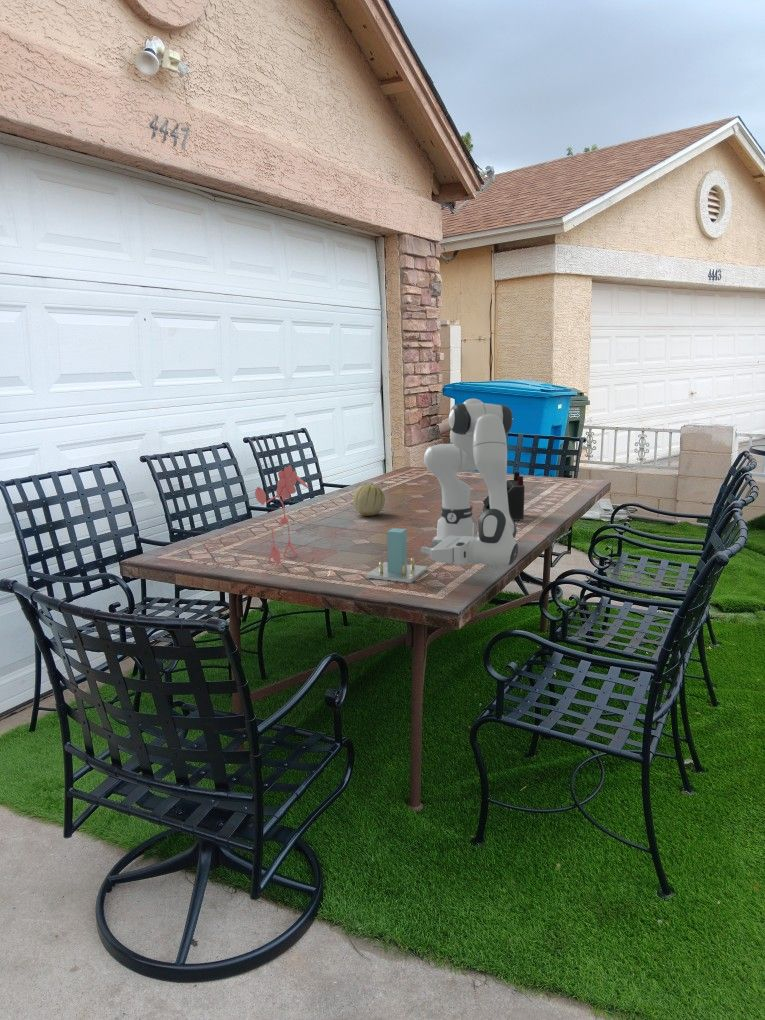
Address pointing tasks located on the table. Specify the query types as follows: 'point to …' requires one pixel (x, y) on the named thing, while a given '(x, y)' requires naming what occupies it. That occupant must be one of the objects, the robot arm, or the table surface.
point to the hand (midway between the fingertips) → (426, 545)
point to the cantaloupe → (368, 499)
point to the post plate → (405, 576)
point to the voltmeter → (513, 498)
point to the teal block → (396, 549)
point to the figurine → (286, 489)
